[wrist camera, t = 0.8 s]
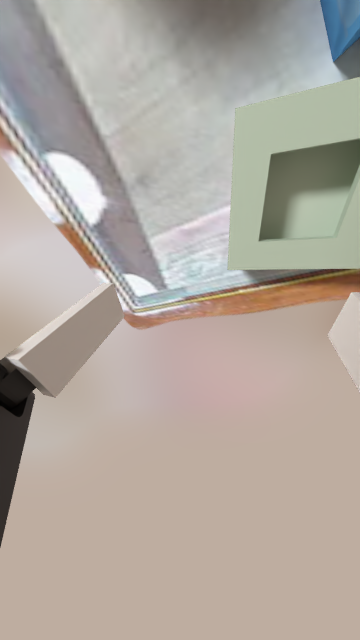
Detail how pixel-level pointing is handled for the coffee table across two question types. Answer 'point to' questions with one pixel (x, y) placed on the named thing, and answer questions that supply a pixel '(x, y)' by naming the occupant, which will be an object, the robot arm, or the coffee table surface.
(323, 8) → the perfume bottle
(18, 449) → the robot arm
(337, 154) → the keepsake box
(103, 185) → the coffee table surface
